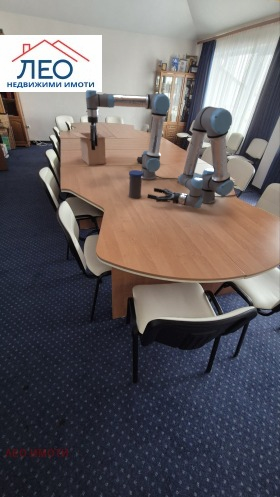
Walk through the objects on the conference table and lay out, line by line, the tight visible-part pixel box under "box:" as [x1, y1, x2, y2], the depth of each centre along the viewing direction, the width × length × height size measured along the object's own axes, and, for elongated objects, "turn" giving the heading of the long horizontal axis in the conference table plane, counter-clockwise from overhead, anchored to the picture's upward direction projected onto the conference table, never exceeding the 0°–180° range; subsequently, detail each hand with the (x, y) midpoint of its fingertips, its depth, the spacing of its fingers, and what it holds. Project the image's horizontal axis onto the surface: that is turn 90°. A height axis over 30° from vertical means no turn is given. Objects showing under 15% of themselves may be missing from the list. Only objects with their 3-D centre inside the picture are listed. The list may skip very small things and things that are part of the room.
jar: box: [128, 175, 143, 200], centre depth 164 cm, size 9×9×18 cm
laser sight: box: [136, 153, 143, 164], centre depth 238 cm, size 10×22×10 cm, turn 78°
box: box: [70, 130, 114, 166], centre depth 229 cm, size 44×36×27 cm
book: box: [177, 171, 202, 184], centre depth 201 cm, size 23×16×5 cm
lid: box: [128, 169, 143, 177], centre depth 159 cm, size 10×10×2 cm
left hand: (94, 148), depth 172 cm, fingers open, 13 cm apart
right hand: (151, 192), depth 160 cm, fingers open, 13 cm apart
